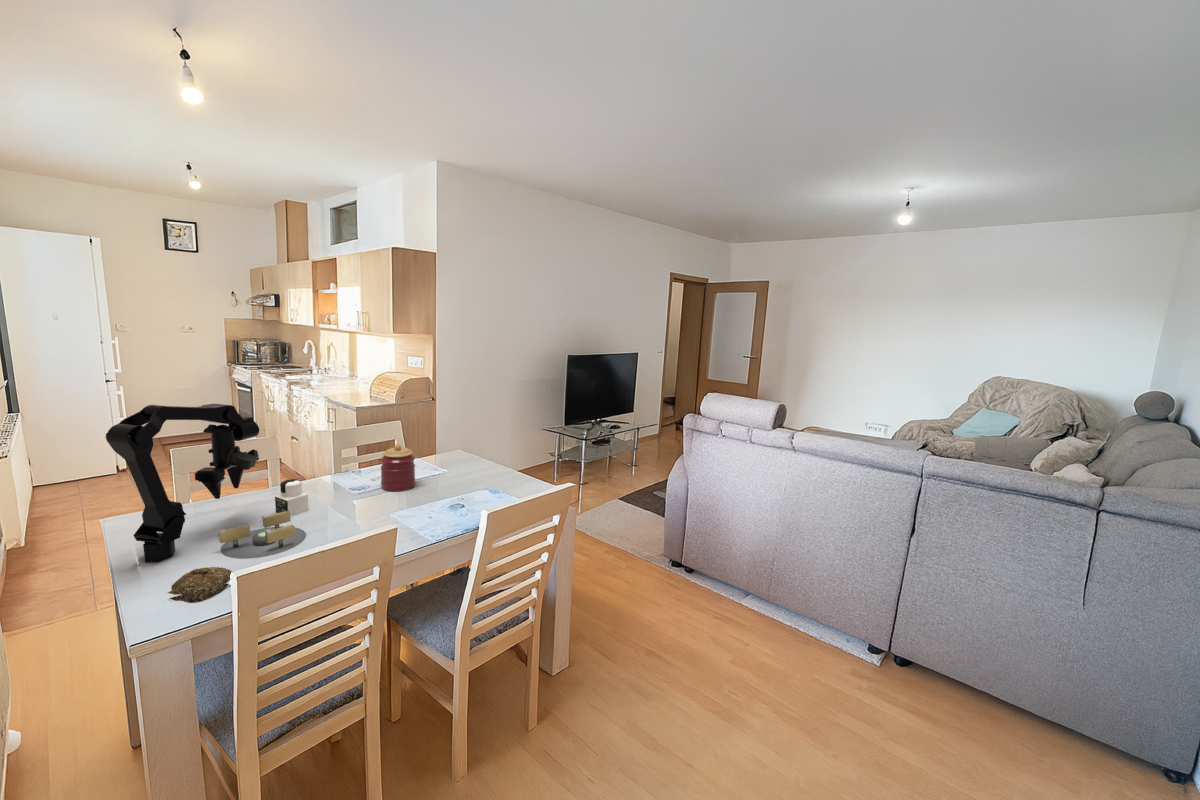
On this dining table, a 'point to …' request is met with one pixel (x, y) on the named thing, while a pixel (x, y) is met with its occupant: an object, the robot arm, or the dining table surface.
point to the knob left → (234, 534)
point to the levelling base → (261, 550)
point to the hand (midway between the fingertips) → (227, 493)
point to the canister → (397, 469)
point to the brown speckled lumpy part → (200, 584)
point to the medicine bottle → (291, 498)
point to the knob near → (279, 534)
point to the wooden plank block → (276, 519)
